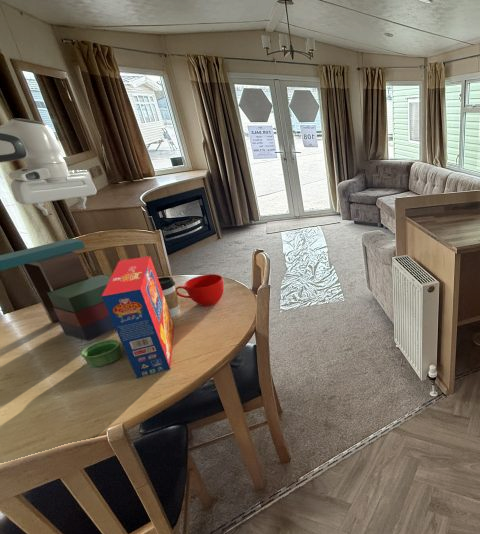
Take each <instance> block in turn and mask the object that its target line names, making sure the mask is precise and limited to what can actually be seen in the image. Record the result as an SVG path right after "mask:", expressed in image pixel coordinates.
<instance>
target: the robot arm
mask: <svg viewBox="0 0 480 534" xmlns="http://www.w3.org/2000/svg"><path fill="white" fill-rule="evenodd" d="M19 160H22V161H24V162H25V163H26V164H25V165H26V166H24V167H22V168H20V169H17V170H16V169H15V170H13V171H11V172H9V173H8V176H9V178H10V179H11V180H12V181H11V183H10V188H11V192H12V196H13V199H14V200H15V201H16V202H17V203H19V204H21V205H27V206H28V205H34V206H35V207H36V208H38V209H39V210H41V212H42V215H44V216H45V217H46V216H53V212H52V210H51V209H49V208H46V207H44V206H45V203H48V202H54V201H61V200H69V199H74V198H77V199H78V200H79V203H78V204H76V206H77V209H78V210H80V211H82V210H86V209H87V205H86V203H87V201H88V198H87V197H88V196H95V195H97V192H98V190H97V188H96V185H95V183H94V182H93V180H92V176H91V174H90V171H88V170H86V169H83V168H78V169H69V168H68V165H67V162H66V160H65V159H64V158H63V157H62V154H61V147H60V145H59V142H58V140H57V138H56V135H55V134H54V132H53V129H51V127H50V126H49V125H48V124H47V123H44V122H42V121H39V120H34V119H29V118H28V119H27V118H20V117H19V118H11V119H10V120H9V121H7V122H6V123H3V124H1V125H0V163H11V162H16V161H19Z"/></svg>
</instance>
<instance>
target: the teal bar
mask: <svg viewBox="0 0 480 534" xmlns="http://www.w3.org/2000/svg"><path fill="white" fill-rule="evenodd" d="M83 249H86V246H85V244H84V242H83V240H82V239H78V238H72V237H71V238H67V239H63V240H59V241H55V242H50V243H46V244H42V245H38V246H33V247H29V248H26V249H21V250H17V251H13V252H8V253H4V254H0V272H1V271H4V270H8V269H12V268H15V267H19V266H22V265H23V264H27V263H31V262H34V261H38V260H42V259H46V258H49V257H53V256H57V255H61V254H64V253H68V252H76V251H79V250H83Z"/></svg>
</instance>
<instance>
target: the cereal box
mask: <svg viewBox="0 0 480 534" xmlns="http://www.w3.org/2000/svg"><path fill="white" fill-rule="evenodd" d="M110 277H111V278H110V280H109V282H108V284H107V287H106V289H105V291H104V293H103V295H102V298H103V301H104V303H105V305H106V308H107V310H108V312H109V315H110V317H111V319H112V322H113V324H114V326H115V329H114V330H115V331H116V333H117V336H118V338H119V341H120V344H121V345H122V348H123V349H124V352H125V354H126V356H127V359H128V361H129V363H130V366H131V368H132V371H133V373H134V375H135V377H136V379H140V378H144V377H148V376H150V375H155V374H158V373H161V372H165V371H168V370H171V365H172V357H173V356H172V355H173V354H172V353H173V345H174V344H173V343H174V332H175V324H174V321H173V317H172V318H171V315H170V312H169V309H168V306H167V303H166V300H165V297H164V294H163V291H162V289H161V286H160V283H159V280H158V278H159V276H158V274H157V271H156V269H155V266H154V263H153V259H152V257H151V255H149V256H143V257H135V258H129V259H122V260H121V259H120V260H118V262H117V264H116V266H115V269H114V270H113V272H112V275H111V276H110Z"/></svg>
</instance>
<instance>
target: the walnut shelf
mask: <svg viewBox="0 0 480 534" xmlns="http://www.w3.org/2000/svg"><path fill="white" fill-rule="evenodd" d="M21 268H22V269H23V271H24V273H25V275H26V277H27V278H28V281H29V283H30V284H31V287H32V288H33V290H34V293H35V294H36V296H37V298H38V300H39V302H40V304H41V305H42V308H43V310H44V311H45V313H46V315H47V318H48V319H49V321H50V323H52V324H56V323H59V321H60V320H59V318H58V316H57V314H56V313H55V311H54V309H53V308H54V306H53V304H52V302H51V300H50V298H49V296H48V294H47V293H48V292H51V291H54V290H57V289H60V288H63V287H66V286H69V285H72V284H75V283H78V282H81V281H84V280H87V279H89V277H88V274H87V271H86V270H85V267H84V264H83V263H82V261H81V257H80V256H79V254H78V252H76V251H72V252H68V253H64V254H61V255H57V256H53V257H49V258H46V259H42V260H38V261H34V262H31V263H27V264H23V265H21Z"/></svg>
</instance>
